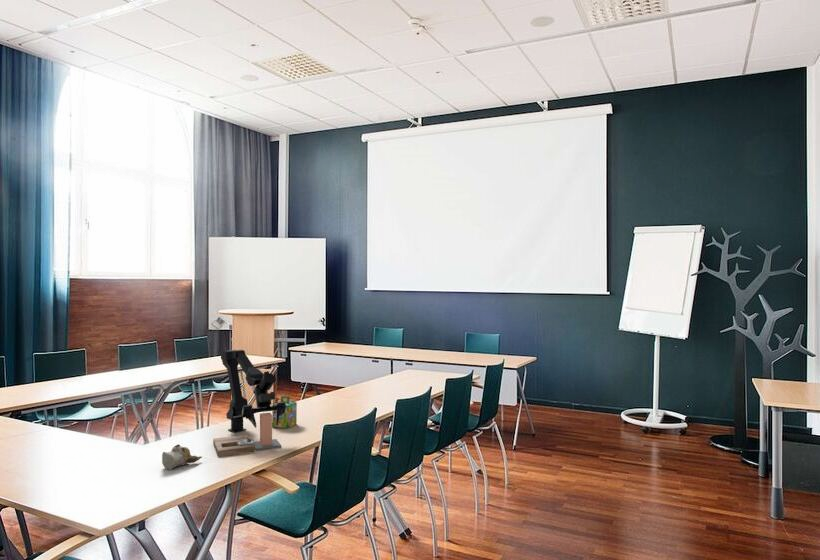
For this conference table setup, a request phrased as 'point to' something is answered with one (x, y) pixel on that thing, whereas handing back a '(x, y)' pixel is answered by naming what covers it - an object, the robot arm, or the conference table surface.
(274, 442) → the rubber pad
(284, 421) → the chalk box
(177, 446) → the ceramic sculpture
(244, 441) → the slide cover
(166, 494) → the conference table surface
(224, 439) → the walnut puzzle board
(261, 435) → the terracotta block
